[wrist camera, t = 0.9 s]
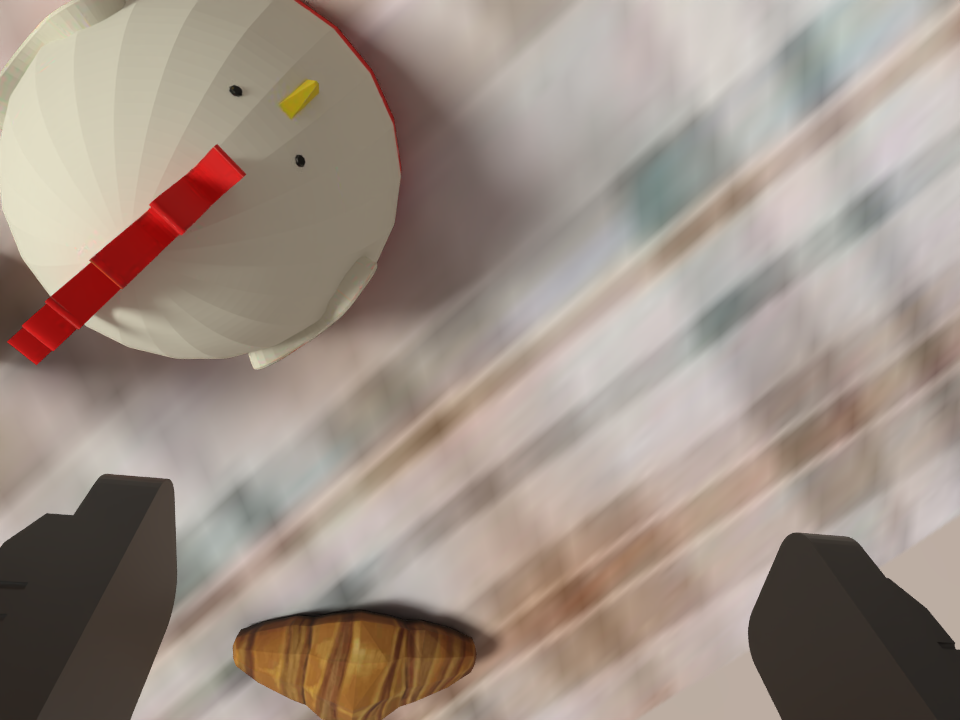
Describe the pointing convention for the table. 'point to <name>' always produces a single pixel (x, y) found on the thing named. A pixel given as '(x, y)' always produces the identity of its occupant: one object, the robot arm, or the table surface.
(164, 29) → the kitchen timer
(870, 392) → the table surface
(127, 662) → the robot arm
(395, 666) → the croissant
